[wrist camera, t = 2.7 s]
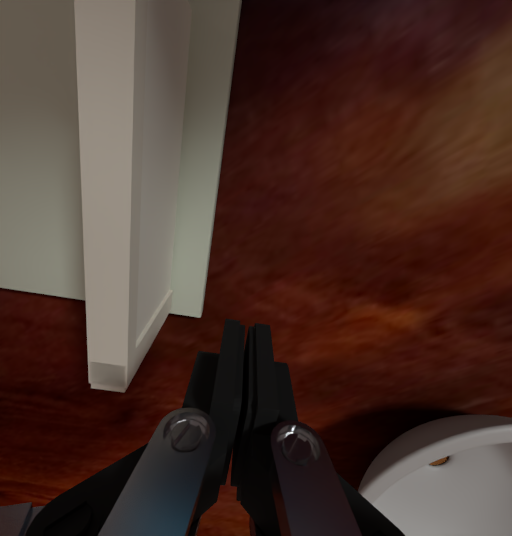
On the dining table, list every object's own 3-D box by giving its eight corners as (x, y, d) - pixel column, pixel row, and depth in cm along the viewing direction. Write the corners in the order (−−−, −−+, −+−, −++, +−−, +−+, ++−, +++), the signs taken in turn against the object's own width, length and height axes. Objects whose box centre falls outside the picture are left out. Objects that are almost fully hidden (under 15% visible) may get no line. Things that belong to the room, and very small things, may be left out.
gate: (163, 4, 15) (67, -160, 7) (197, 11, 15) (138, -142, 7) (148, 305, 22) (89, 387, 14) (172, 309, 22) (126, 392, 14)
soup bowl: (506, 529, 34) (562, 610, 28) (308, 524, 34) (321, 605, 28) (603, 368, 26) (713, 433, 20) (341, 357, 25) (369, 421, 19)
